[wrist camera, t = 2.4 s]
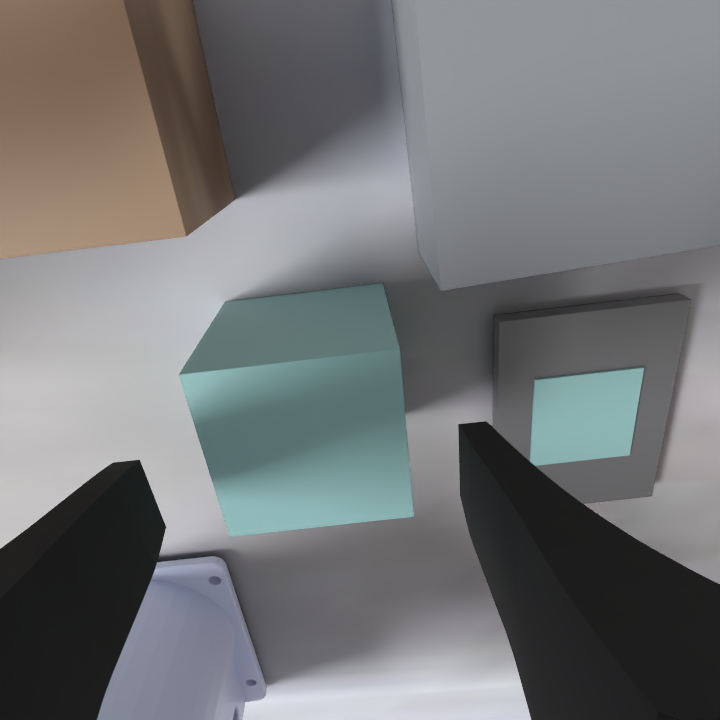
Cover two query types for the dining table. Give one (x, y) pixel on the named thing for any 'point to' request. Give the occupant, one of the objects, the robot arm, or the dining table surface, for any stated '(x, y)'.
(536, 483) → the robot arm
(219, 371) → the teal block
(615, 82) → the grey block
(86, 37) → the walnut block
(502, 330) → the card
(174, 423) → the dining table surface
